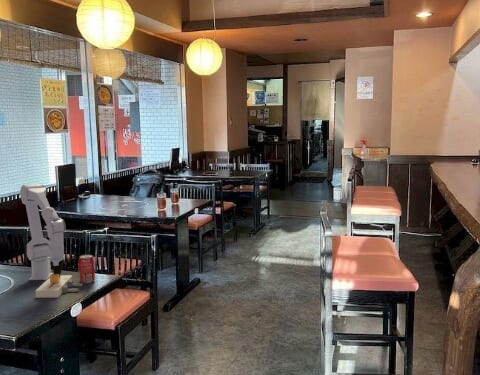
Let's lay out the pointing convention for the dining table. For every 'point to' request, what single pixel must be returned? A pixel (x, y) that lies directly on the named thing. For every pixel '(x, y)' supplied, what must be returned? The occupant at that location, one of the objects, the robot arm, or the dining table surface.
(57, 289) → the slider switch box
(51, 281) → the knob
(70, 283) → the white peg legs
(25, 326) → the dining table surface
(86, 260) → the soda can
